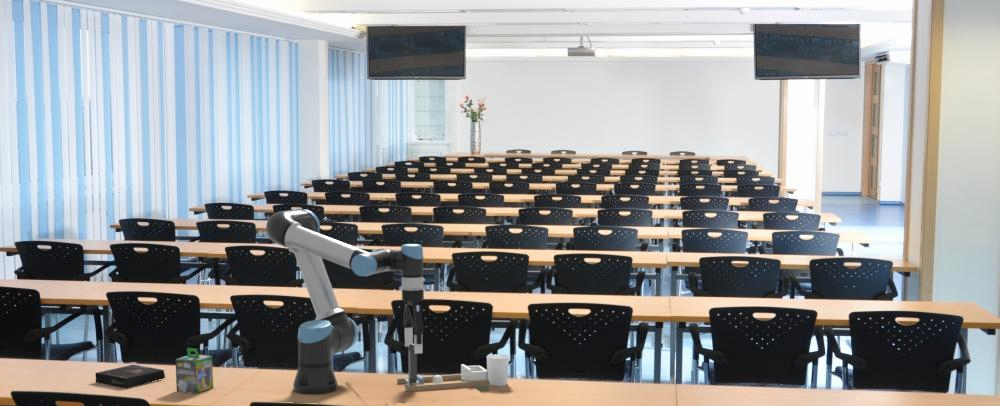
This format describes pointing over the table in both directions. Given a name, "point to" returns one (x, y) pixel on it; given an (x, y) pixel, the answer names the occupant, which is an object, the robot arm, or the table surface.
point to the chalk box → (194, 372)
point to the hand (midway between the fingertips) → (413, 349)
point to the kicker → (413, 369)
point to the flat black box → (129, 376)
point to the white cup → (497, 369)
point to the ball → (437, 379)
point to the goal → (473, 373)
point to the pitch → (476, 384)
